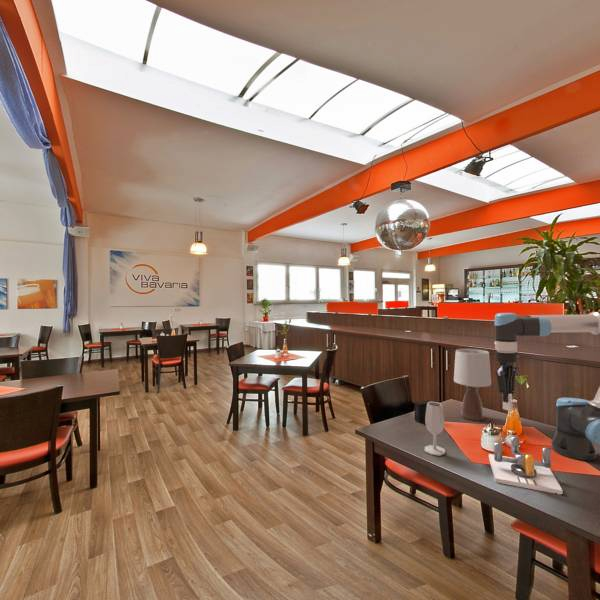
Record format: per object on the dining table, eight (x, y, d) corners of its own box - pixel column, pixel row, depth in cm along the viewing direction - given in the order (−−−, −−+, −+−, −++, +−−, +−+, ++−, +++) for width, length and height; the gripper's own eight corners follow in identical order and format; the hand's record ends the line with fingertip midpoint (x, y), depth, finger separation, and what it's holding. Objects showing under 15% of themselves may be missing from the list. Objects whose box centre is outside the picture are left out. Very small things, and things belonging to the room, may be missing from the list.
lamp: (492, 414, 188) (492, 349, 187) (490, 426, 172) (490, 355, 171) (456, 409, 198) (455, 347, 197) (451, 419, 182) (451, 352, 181)
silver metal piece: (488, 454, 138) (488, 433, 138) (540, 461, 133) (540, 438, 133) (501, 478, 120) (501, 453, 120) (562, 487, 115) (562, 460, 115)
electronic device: (414, 420, 181) (414, 402, 181) (429, 418, 184) (429, 400, 184) (419, 423, 177) (419, 404, 177) (435, 420, 180) (434, 402, 180)
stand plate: (546, 466, 132) (546, 462, 132) (562, 494, 113) (562, 489, 113) (488, 457, 140) (488, 453, 140) (495, 482, 121) (495, 477, 121)
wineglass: (428, 445, 152) (427, 399, 151) (448, 450, 146) (448, 403, 146) (421, 452, 145) (421, 404, 144) (442, 458, 139) (441, 408, 139)
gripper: (504, 348, 140) (505, 403, 141) (488, 352, 133) (489, 410, 134) (523, 350, 134) (524, 408, 134) (508, 354, 127) (509, 415, 127)
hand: (507, 409), depth 134 cm, fingers closed
